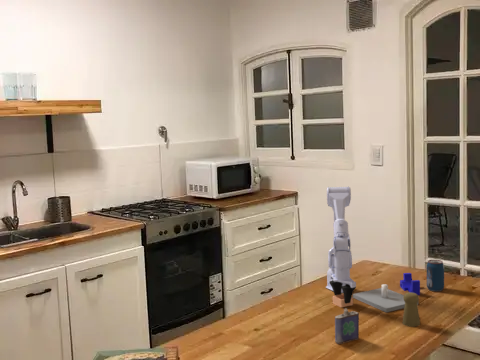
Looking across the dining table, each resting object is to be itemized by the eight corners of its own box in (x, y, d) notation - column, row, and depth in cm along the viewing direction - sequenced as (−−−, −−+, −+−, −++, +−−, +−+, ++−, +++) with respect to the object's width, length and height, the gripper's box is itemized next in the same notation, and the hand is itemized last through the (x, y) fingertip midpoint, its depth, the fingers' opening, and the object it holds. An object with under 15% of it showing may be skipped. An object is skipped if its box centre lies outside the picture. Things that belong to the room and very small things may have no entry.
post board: (352, 297, 226) (352, 282, 225) (383, 290, 233) (383, 275, 232) (386, 312, 208) (386, 295, 207) (418, 304, 215) (418, 288, 214)
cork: (411, 328, 192) (410, 297, 191) (398, 322, 198) (398, 292, 196) (423, 324, 195) (423, 294, 194) (411, 319, 200) (411, 289, 199)
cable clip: (400, 286, 238) (399, 273, 237) (410, 286, 238) (410, 272, 237) (408, 296, 226) (408, 281, 225) (420, 295, 226) (419, 281, 225)
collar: (332, 303, 220) (332, 296, 220) (344, 300, 222) (344, 293, 222) (341, 307, 215) (341, 300, 215) (353, 304, 217) (352, 297, 217)
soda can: (445, 288, 233) (445, 260, 232) (442, 292, 227) (442, 264, 226) (428, 285, 237) (428, 258, 236) (424, 290, 231) (424, 262, 230)
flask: (338, 344, 181) (337, 313, 180) (332, 341, 183) (332, 310, 182) (360, 338, 185) (360, 307, 184) (355, 336, 188) (354, 305, 186)
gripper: (322, 264, 222) (323, 297, 223) (345, 273, 209) (345, 307, 210) (337, 261, 225) (338, 294, 226) (360, 270, 212) (360, 304, 213)
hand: (342, 300), depth 219 cm, fingers closed on collar, 6 cm apart
